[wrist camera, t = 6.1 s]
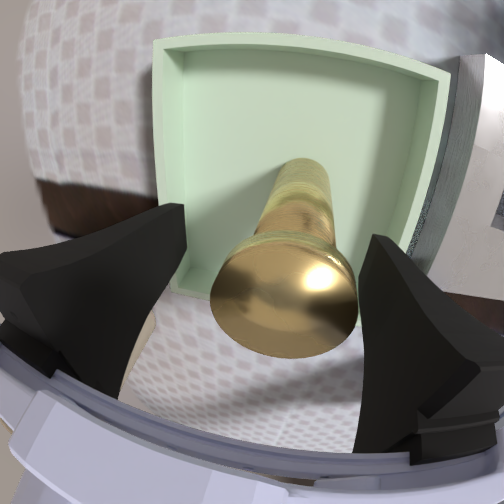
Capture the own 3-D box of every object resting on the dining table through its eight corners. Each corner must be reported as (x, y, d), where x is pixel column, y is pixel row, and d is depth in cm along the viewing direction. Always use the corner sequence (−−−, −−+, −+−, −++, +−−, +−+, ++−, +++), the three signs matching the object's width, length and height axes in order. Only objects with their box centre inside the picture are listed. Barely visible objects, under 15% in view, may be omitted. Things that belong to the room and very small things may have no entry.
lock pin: (330, 220, 16) (333, 366, 8) (265, 208, 17) (211, 343, 9) (344, 156, 14) (380, 269, 6) (271, 143, 14) (208, 238, 6)
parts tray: (367, 298, 20) (371, 328, 17) (187, 266, 22) (171, 292, 19) (428, 73, 10) (451, 73, 8) (179, 44, 12) (153, 39, 10)
